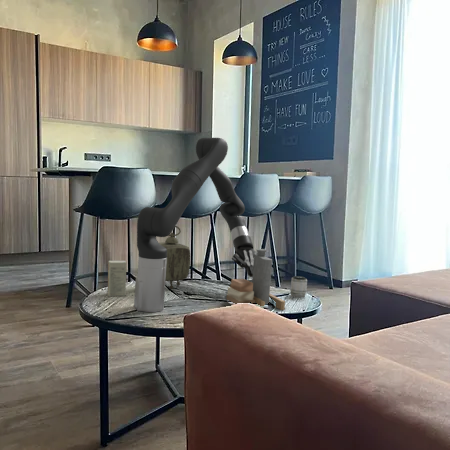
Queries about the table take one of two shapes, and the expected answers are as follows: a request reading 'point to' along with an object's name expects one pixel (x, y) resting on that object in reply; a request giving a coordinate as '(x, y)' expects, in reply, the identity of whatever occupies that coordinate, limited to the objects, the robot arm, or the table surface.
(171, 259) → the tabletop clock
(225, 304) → the table surface
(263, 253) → the hip flask
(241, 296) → the offcut ash
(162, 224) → the robot arm
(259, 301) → the slot rack
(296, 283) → the camera lens
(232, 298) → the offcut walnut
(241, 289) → the offcut cherry
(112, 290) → the skincare box
